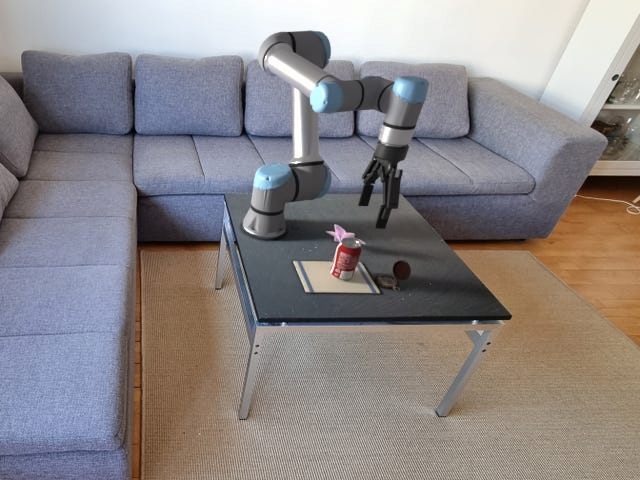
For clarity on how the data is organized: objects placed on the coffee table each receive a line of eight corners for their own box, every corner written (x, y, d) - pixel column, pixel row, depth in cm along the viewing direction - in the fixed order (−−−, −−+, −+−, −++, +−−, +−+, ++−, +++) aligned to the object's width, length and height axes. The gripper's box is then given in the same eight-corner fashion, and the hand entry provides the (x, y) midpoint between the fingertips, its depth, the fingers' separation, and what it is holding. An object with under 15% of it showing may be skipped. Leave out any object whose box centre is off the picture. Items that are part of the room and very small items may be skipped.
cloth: (293, 261, 144) (293, 260, 144) (360, 262, 144) (361, 261, 144) (306, 292, 131) (306, 291, 131) (380, 293, 131) (380, 292, 131)
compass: (371, 278, 137) (378, 259, 132) (392, 274, 139) (400, 255, 134) (388, 294, 130) (396, 274, 126) (410, 290, 132) (419, 270, 128)
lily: (364, 262, 146) (373, 234, 144) (340, 256, 140) (350, 227, 139) (335, 254, 156) (344, 227, 155) (312, 248, 150) (321, 221, 149)
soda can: (353, 283, 134) (365, 250, 127) (330, 280, 135) (340, 247, 128) (350, 270, 140) (361, 238, 133) (328, 267, 141) (337, 235, 134)
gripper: (430, 160, 103) (402, 239, 115) (390, 128, 123) (369, 197, 135) (398, 159, 103) (372, 238, 115) (362, 127, 124) (344, 197, 136)
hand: (370, 216), depth 125 cm, fingers open, 13 cm apart
